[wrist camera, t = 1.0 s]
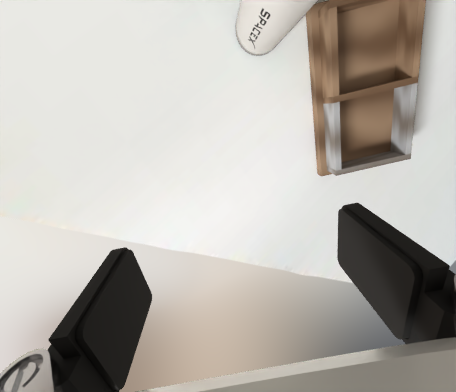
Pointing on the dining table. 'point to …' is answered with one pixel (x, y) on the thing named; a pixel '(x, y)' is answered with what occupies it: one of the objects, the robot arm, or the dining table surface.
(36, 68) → the dining table surface
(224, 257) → the dining table surface
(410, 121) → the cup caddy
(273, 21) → the travel mug
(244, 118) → the dining table surface
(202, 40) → the dining table surface
